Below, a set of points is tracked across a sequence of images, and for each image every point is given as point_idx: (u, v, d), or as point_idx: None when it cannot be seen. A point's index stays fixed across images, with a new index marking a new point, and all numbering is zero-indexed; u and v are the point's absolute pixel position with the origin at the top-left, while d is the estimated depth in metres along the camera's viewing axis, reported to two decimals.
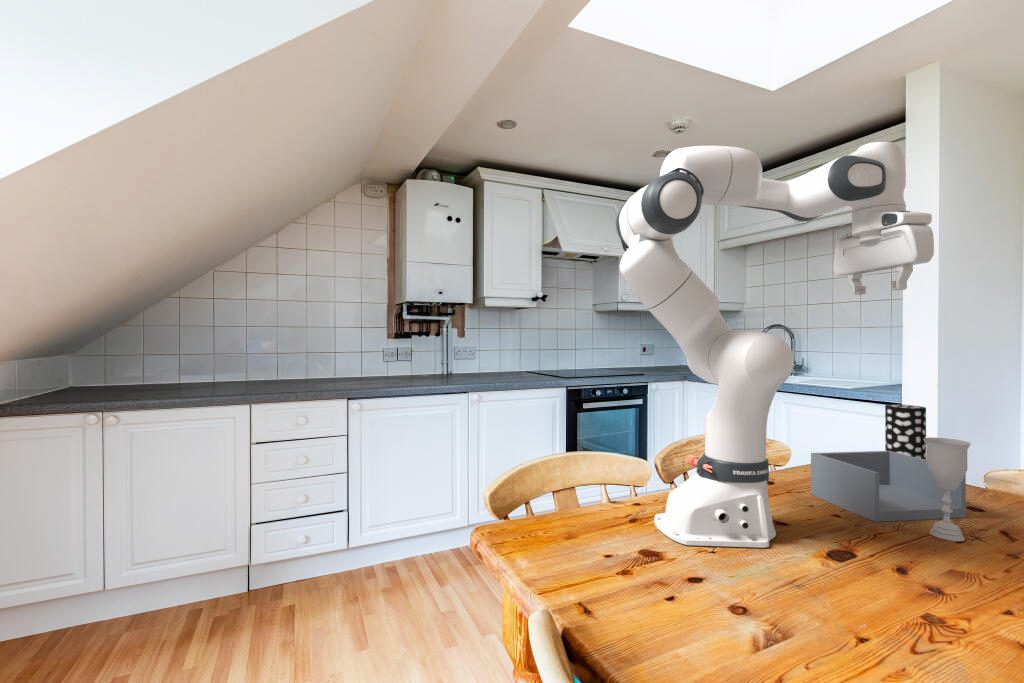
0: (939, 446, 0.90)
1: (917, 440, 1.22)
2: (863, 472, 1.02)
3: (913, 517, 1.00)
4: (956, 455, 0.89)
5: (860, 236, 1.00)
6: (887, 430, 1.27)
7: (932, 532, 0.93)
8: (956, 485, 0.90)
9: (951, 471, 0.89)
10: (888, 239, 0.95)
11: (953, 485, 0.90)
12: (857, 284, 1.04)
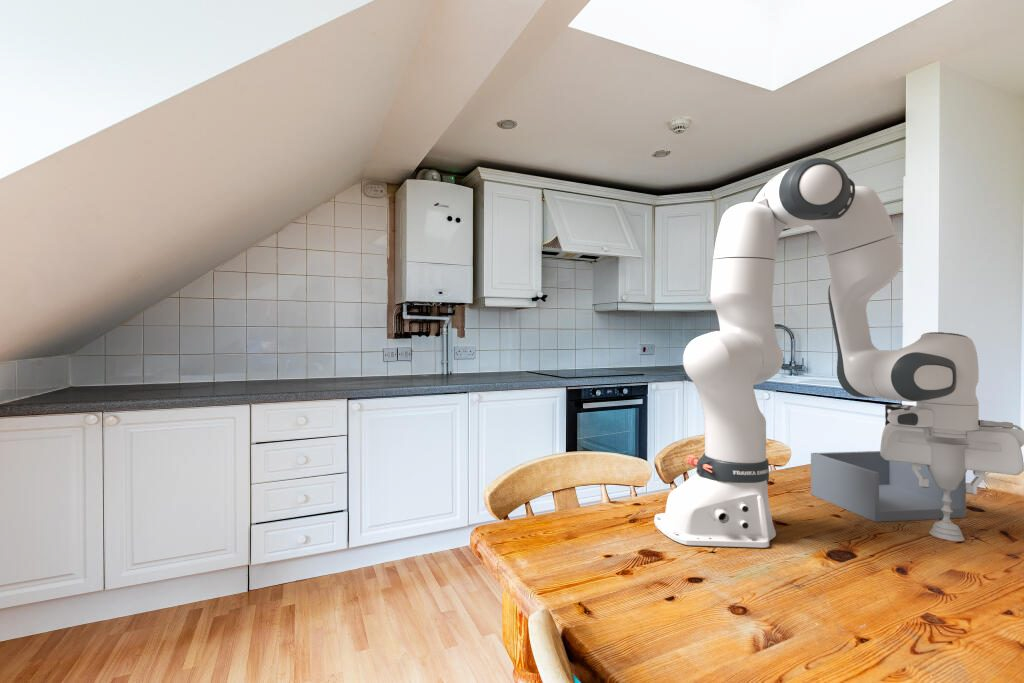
0: (939, 446, 0.90)
1: None
2: (863, 472, 1.02)
3: (913, 517, 1.00)
4: (956, 455, 0.89)
5: None
6: None
7: (932, 532, 0.93)
8: (956, 485, 0.90)
9: (951, 471, 0.89)
10: None
11: (953, 485, 0.90)
12: (973, 481, 0.90)
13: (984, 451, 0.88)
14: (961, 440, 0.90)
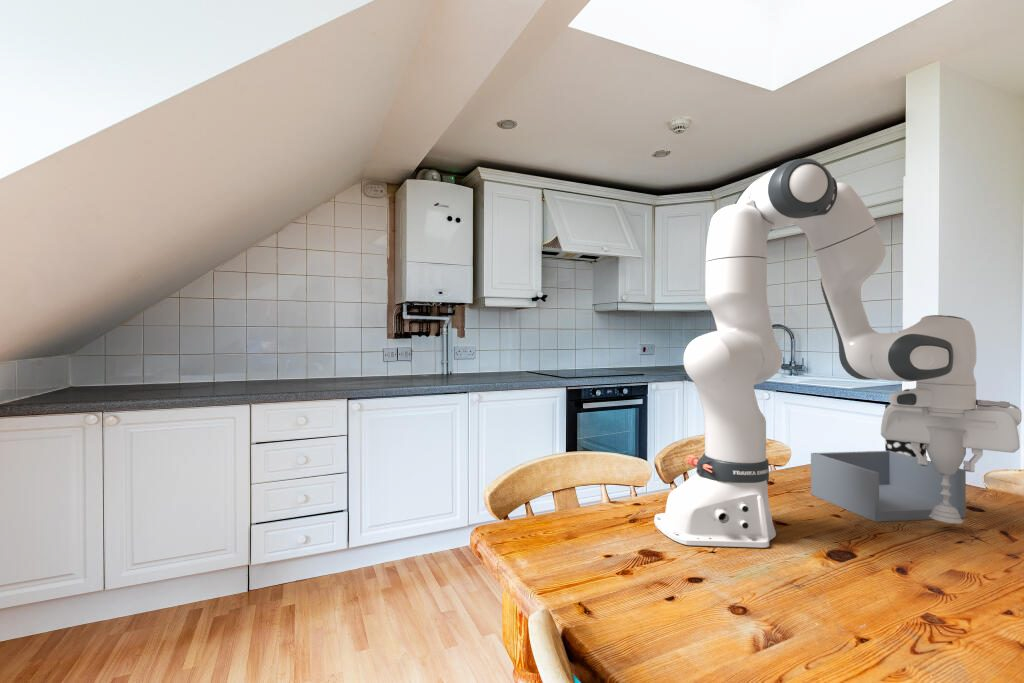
0: (937, 431, 0.94)
1: None
2: (863, 472, 1.02)
3: (913, 517, 1.00)
4: (953, 440, 0.92)
5: None
6: None
7: (931, 515, 0.96)
8: (954, 469, 0.93)
9: (949, 455, 0.92)
10: None
11: (951, 469, 0.93)
12: (971, 459, 0.93)
13: (981, 430, 0.91)
14: (958, 419, 0.93)
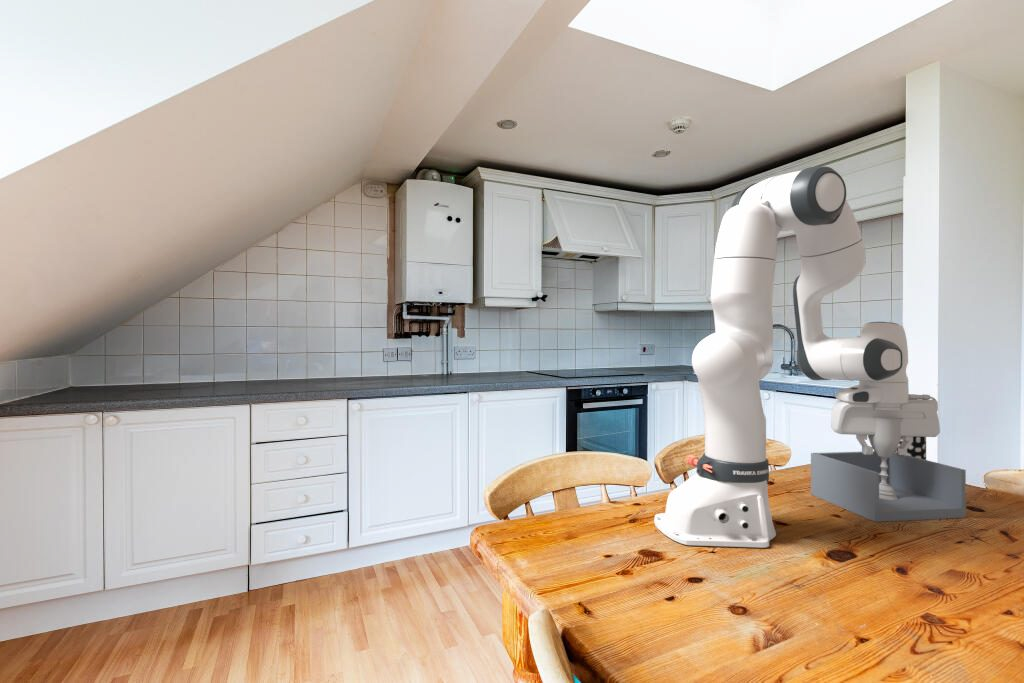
0: (882, 421, 1.07)
1: (917, 440, 1.22)
2: (863, 472, 1.02)
3: (913, 517, 1.00)
4: (895, 427, 1.06)
5: None
6: None
7: None
8: (893, 453, 1.07)
9: (892, 441, 1.06)
10: None
11: (891, 453, 1.07)
12: (902, 445, 1.08)
13: (914, 420, 1.06)
14: (896, 412, 1.07)
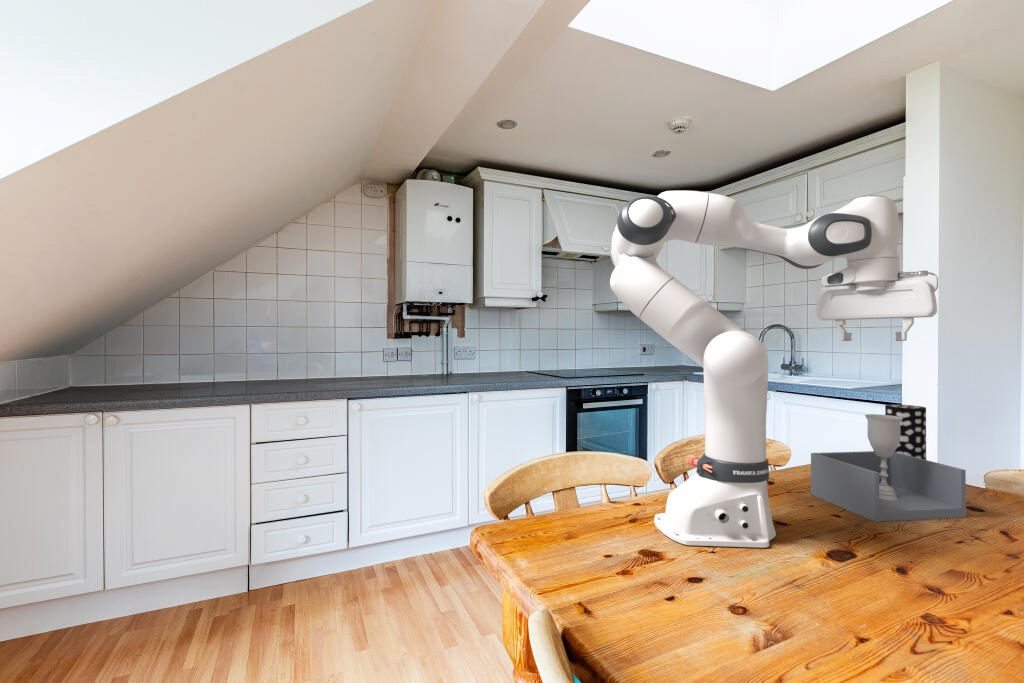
0: (882, 421, 1.07)
1: (917, 440, 1.22)
2: (863, 472, 1.02)
3: (913, 517, 1.00)
4: (895, 427, 1.06)
5: None
6: None
7: None
8: (892, 453, 1.07)
9: (892, 441, 1.06)
10: None
11: (891, 453, 1.07)
12: None
13: (900, 299, 0.96)
14: (881, 292, 0.99)
